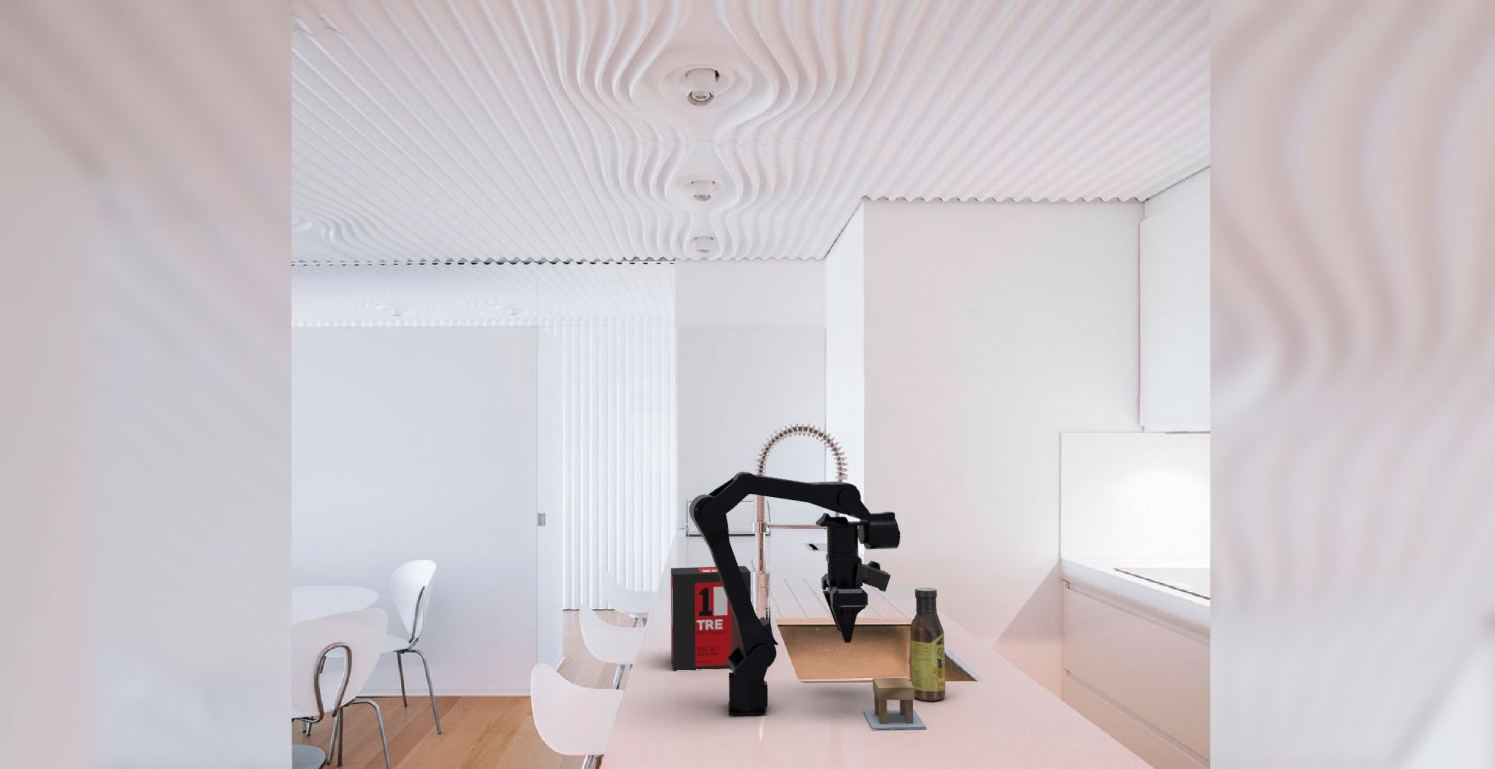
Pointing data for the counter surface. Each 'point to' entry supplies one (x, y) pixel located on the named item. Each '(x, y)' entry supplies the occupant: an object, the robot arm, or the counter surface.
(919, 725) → the pad
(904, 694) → the stool
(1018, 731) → the counter surface
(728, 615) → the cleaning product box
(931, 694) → the sauce bottle
